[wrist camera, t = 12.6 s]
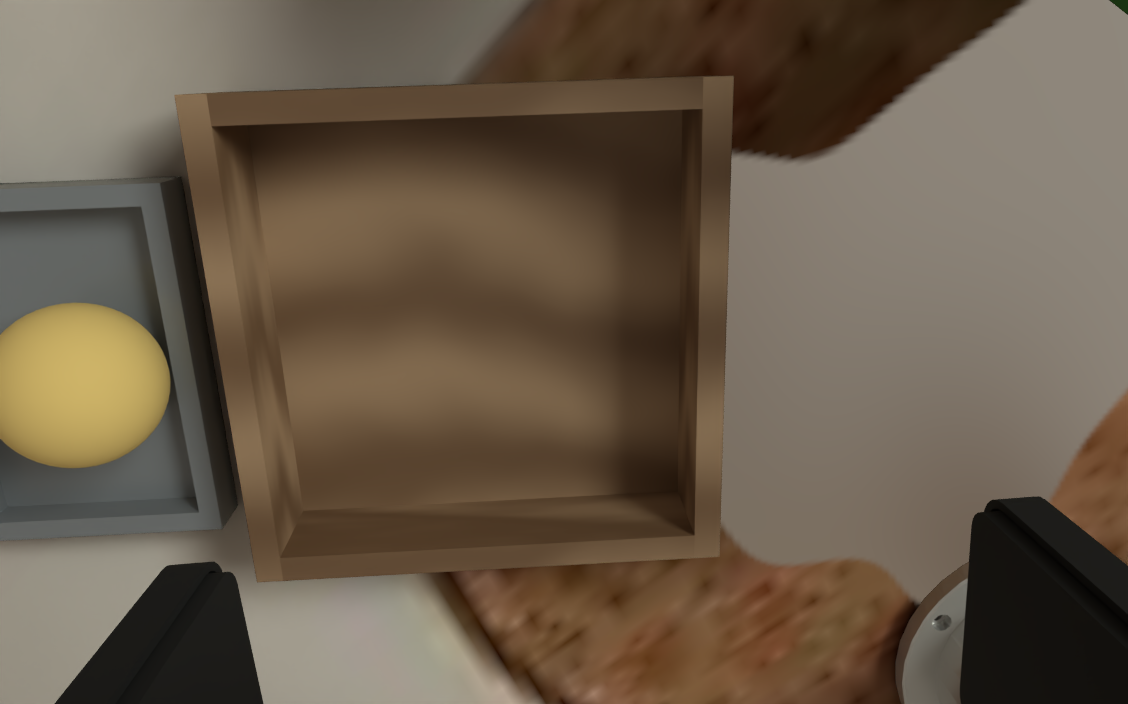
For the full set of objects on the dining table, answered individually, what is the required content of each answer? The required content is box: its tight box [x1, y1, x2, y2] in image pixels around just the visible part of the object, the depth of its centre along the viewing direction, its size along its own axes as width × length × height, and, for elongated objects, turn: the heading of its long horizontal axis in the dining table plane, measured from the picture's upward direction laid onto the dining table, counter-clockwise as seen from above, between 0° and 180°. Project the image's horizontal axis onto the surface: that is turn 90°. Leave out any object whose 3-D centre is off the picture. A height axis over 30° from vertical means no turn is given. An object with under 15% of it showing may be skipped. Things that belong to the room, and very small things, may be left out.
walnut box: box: [175, 76, 734, 582], centre depth 32 cm, size 18×18×4 cm
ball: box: [0, 303, 170, 468], centre depth 31 cm, size 6×6×6 cm
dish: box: [0, 177, 238, 541], centre depth 33 cm, size 14×10×2 cm
